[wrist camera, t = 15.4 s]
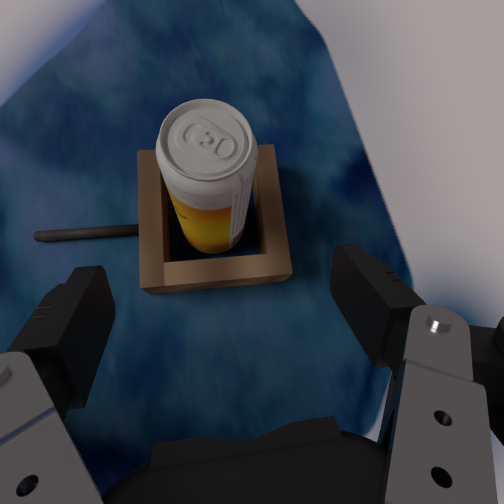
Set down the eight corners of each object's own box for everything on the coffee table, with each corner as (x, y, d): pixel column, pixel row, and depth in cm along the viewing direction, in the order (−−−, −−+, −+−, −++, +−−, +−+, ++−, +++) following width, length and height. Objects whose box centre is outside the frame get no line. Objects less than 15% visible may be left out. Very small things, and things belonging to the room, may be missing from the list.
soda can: (201, 190, 33) (185, 77, 19) (252, 215, 33) (276, 120, 18) (172, 239, 31) (130, 156, 17) (226, 266, 31) (230, 204, 17)
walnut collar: (32, 305, 28) (2, 301, 25) (41, 177, 32) (16, 155, 28) (284, 281, 31) (292, 273, 27) (267, 166, 35) (273, 144, 31)
